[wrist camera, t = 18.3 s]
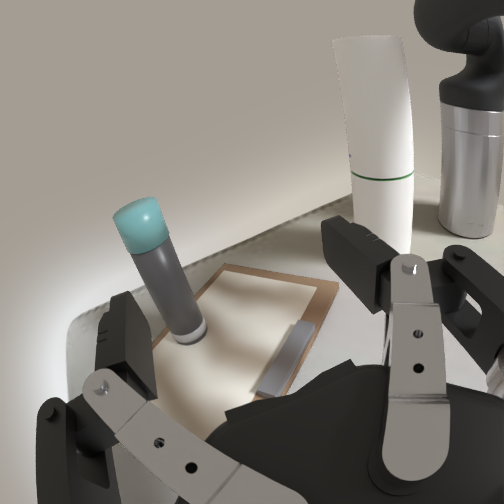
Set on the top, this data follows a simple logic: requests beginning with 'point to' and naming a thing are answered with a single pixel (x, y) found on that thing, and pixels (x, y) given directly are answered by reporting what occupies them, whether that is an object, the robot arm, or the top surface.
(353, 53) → the cylindrical container
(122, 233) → the marker
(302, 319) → the clipboard
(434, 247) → the top surface
